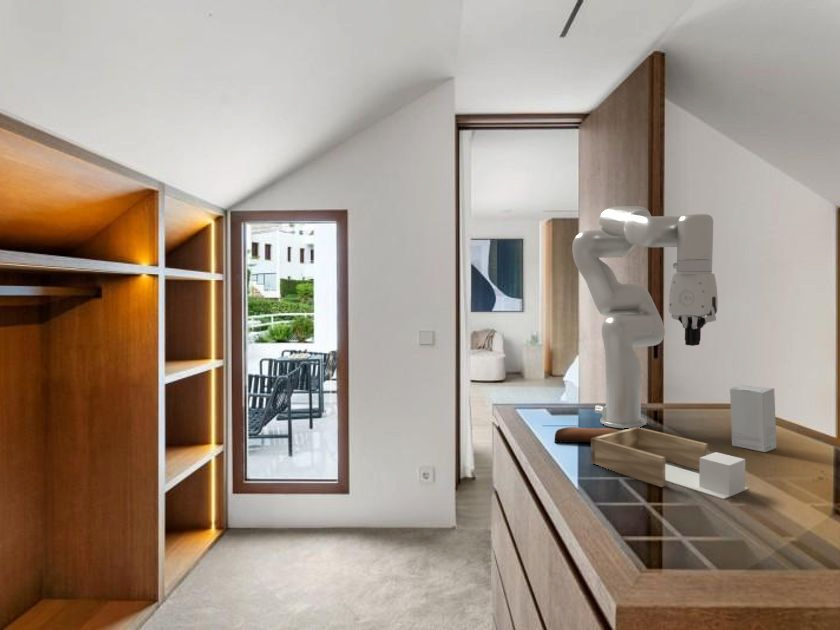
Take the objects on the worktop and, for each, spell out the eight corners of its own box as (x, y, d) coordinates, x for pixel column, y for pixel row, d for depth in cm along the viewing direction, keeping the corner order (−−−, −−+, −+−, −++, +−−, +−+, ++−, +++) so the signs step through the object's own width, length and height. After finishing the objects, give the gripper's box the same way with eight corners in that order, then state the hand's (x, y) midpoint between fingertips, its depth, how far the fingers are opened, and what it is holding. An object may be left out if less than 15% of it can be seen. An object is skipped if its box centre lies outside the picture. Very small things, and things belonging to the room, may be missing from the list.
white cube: (745, 488, 114) (745, 459, 114) (728, 495, 111) (729, 465, 111) (715, 480, 119) (715, 451, 119) (699, 486, 116) (699, 457, 116)
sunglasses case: (625, 437, 152) (625, 419, 148) (627, 457, 147) (628, 439, 143) (555, 434, 157) (554, 416, 153) (554, 454, 151) (553, 436, 148)
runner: (611, 464, 132) (612, 463, 132) (637, 456, 136) (637, 455, 136) (723, 499, 110) (723, 498, 110) (748, 488, 115) (748, 487, 115)
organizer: (661, 487, 117) (661, 458, 116) (591, 463, 132) (590, 438, 132) (707, 470, 126) (707, 443, 125) (636, 450, 141) (636, 426, 141)
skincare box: (776, 448, 139) (777, 388, 138) (764, 453, 136) (765, 391, 135) (741, 441, 146) (742, 383, 145) (728, 445, 143) (729, 386, 142)
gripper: (656, 268, 139) (655, 342, 141) (715, 268, 127) (712, 350, 128) (675, 267, 143) (674, 340, 145) (734, 267, 130) (732, 347, 132)
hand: (692, 344), depth 137 cm, fingers closed
